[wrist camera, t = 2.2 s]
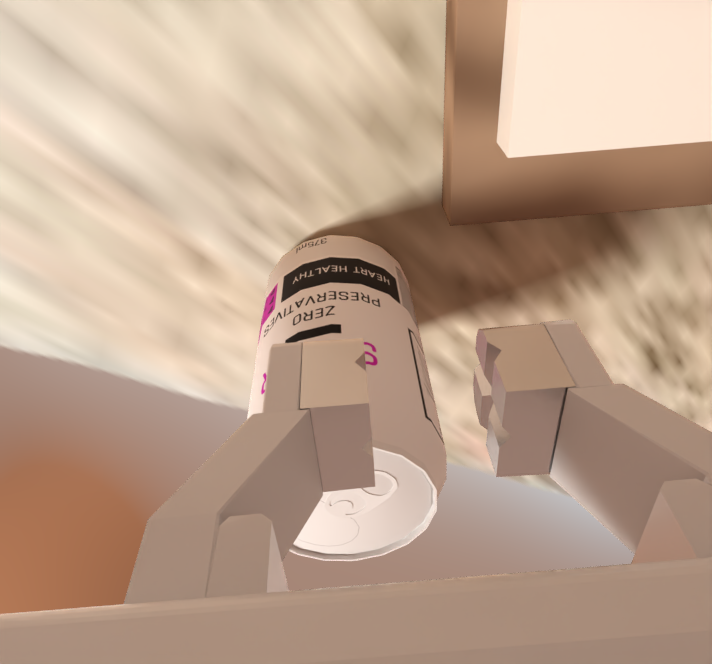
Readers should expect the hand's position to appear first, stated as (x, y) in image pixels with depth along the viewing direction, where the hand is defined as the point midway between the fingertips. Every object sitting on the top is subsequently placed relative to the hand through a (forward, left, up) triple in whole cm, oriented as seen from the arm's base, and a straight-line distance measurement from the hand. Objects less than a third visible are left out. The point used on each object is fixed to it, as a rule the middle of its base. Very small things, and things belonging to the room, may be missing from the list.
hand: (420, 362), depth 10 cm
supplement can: (+12, -2, -21) cm, 25 cm away
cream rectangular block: (0, +11, -19) cm, 21 cm away
